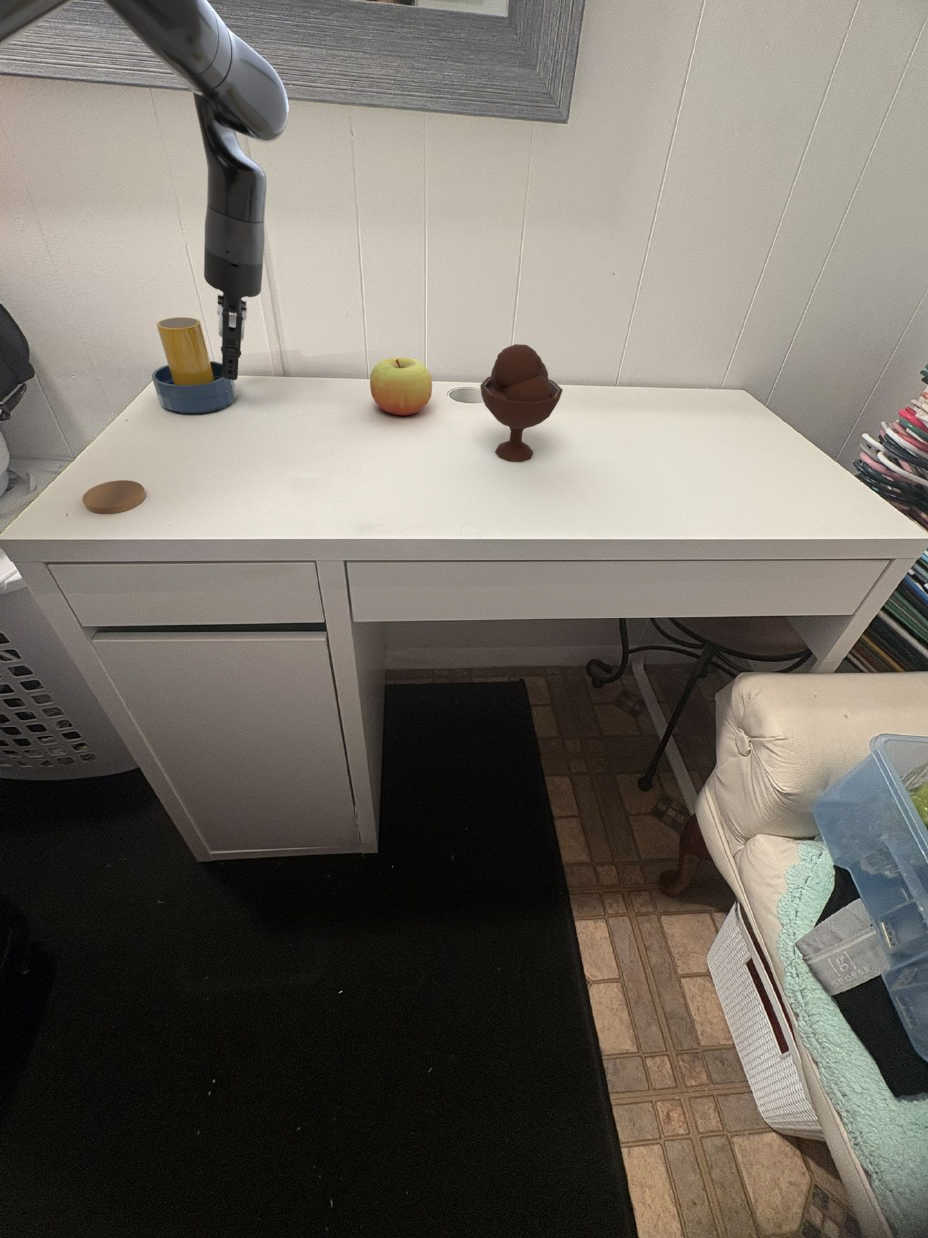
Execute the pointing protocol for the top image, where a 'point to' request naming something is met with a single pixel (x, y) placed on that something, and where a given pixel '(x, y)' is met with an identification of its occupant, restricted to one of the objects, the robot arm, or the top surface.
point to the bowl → (194, 392)
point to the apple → (401, 385)
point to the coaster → (114, 497)
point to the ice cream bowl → (519, 397)
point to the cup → (185, 350)
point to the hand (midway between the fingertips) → (229, 365)
